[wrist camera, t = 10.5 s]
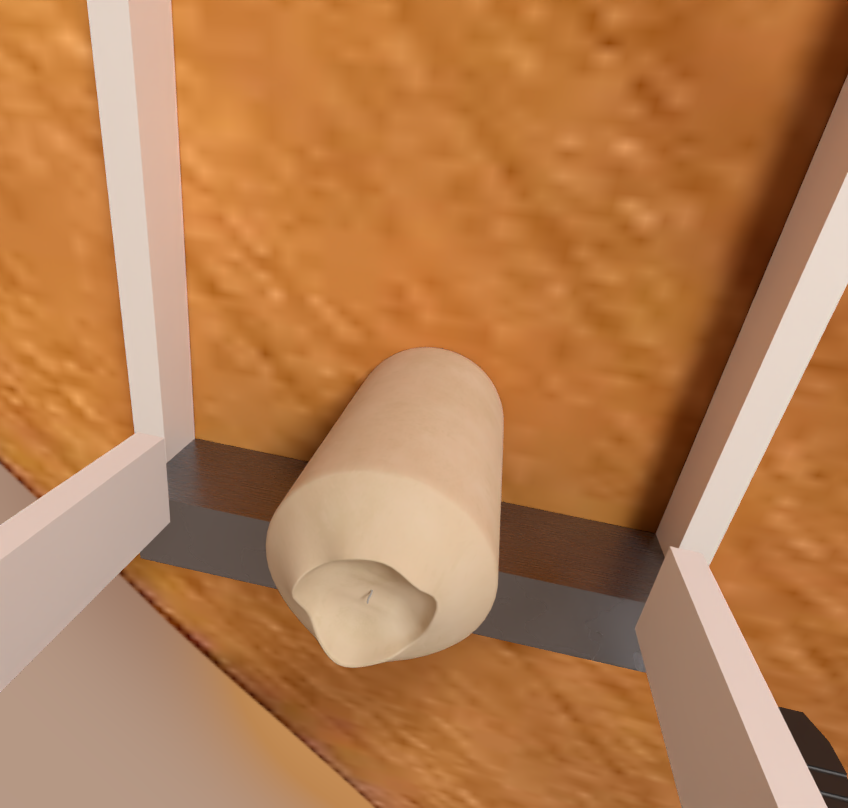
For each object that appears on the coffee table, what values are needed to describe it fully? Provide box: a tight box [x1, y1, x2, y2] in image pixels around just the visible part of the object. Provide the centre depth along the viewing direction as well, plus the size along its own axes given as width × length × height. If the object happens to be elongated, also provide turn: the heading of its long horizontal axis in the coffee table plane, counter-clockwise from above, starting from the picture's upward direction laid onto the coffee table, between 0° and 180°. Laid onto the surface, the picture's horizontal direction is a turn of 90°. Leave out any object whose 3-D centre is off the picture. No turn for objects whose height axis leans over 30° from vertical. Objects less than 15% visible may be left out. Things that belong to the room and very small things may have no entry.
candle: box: [266, 347, 504, 668], centre depth 15 cm, size 6×6×10 cm
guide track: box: [87, 0, 848, 672], centre depth 15 cm, size 25×21×4 cm
